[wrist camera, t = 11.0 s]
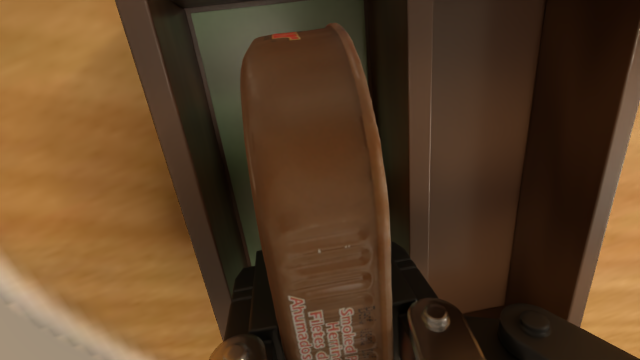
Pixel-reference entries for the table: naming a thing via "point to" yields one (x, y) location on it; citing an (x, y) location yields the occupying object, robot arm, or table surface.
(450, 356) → the robot arm
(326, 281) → the tin
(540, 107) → the organizer
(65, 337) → the table surface
